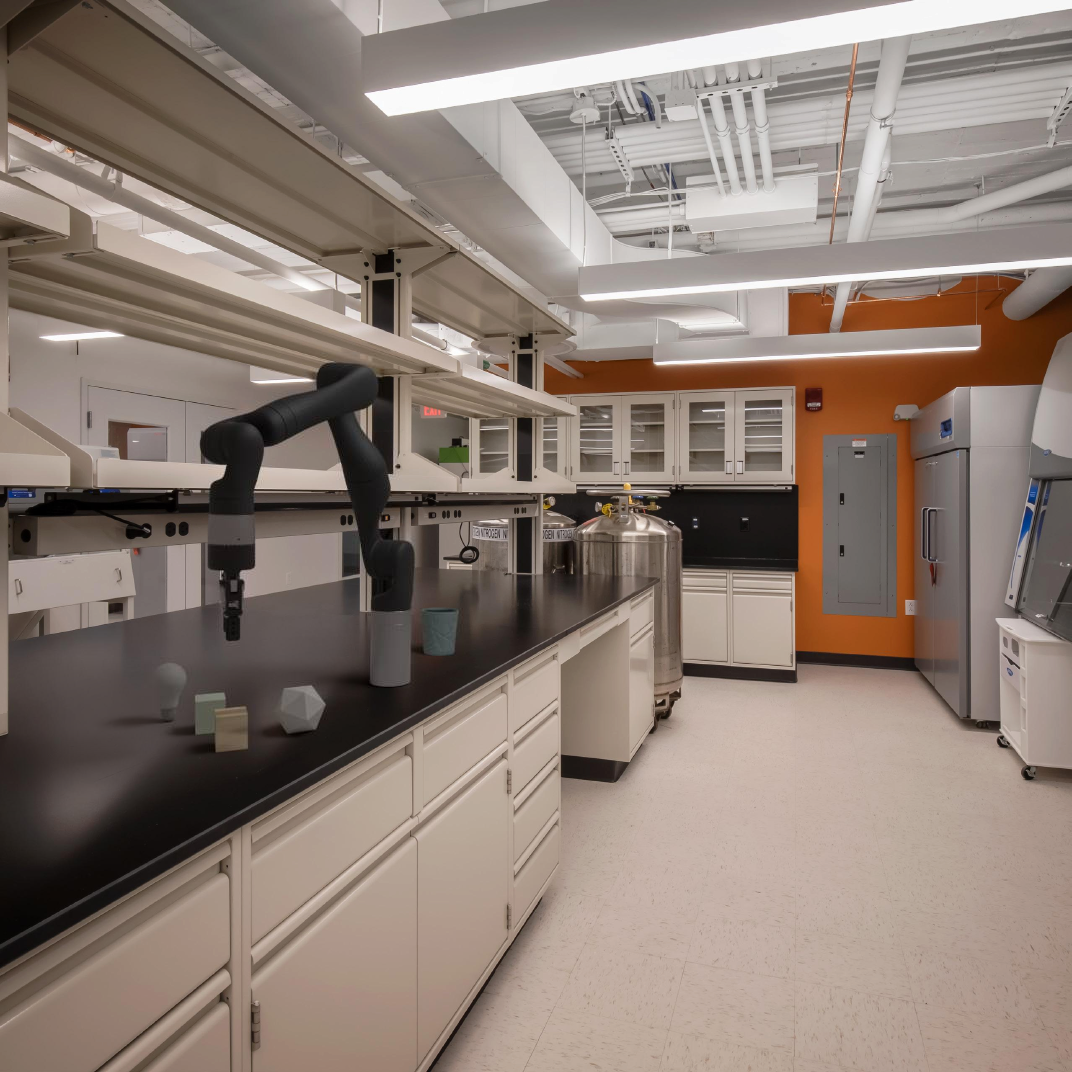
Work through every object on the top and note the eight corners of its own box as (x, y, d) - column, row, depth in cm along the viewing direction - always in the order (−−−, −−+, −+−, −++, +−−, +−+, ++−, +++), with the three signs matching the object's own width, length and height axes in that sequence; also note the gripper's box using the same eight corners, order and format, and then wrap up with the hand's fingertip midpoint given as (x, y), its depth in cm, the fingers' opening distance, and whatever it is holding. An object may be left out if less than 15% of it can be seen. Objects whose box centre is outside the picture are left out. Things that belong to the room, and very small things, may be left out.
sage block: (195, 726, 137) (195, 694, 137) (224, 723, 140) (224, 692, 139) (195, 734, 133) (195, 701, 133) (225, 731, 135) (225, 699, 135)
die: (318, 723, 143) (288, 683, 142) (342, 709, 138) (310, 668, 137) (288, 749, 137) (256, 708, 136) (312, 736, 132) (279, 693, 131)
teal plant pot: (414, 654, 204) (415, 610, 203) (431, 647, 213) (431, 606, 213) (448, 657, 201) (449, 613, 200) (463, 650, 210) (464, 608, 210)
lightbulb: (192, 720, 141) (192, 663, 140) (158, 727, 136) (158, 668, 136) (178, 713, 145) (178, 658, 144) (145, 720, 140) (145, 663, 140)
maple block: (214, 743, 129) (214, 709, 128) (245, 739, 131) (245, 706, 131) (215, 752, 124) (215, 717, 124) (247, 748, 126) (247, 714, 126)
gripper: (259, 544, 121) (258, 642, 122) (251, 538, 134) (251, 628, 135) (208, 544, 118) (208, 645, 119) (206, 538, 131) (206, 630, 131)
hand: (231, 636), depth 127 cm, fingers open, 8 cm apart
